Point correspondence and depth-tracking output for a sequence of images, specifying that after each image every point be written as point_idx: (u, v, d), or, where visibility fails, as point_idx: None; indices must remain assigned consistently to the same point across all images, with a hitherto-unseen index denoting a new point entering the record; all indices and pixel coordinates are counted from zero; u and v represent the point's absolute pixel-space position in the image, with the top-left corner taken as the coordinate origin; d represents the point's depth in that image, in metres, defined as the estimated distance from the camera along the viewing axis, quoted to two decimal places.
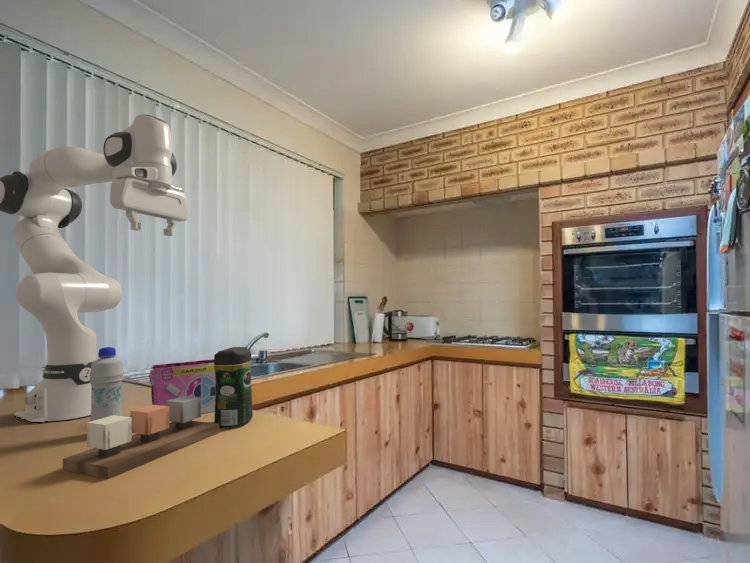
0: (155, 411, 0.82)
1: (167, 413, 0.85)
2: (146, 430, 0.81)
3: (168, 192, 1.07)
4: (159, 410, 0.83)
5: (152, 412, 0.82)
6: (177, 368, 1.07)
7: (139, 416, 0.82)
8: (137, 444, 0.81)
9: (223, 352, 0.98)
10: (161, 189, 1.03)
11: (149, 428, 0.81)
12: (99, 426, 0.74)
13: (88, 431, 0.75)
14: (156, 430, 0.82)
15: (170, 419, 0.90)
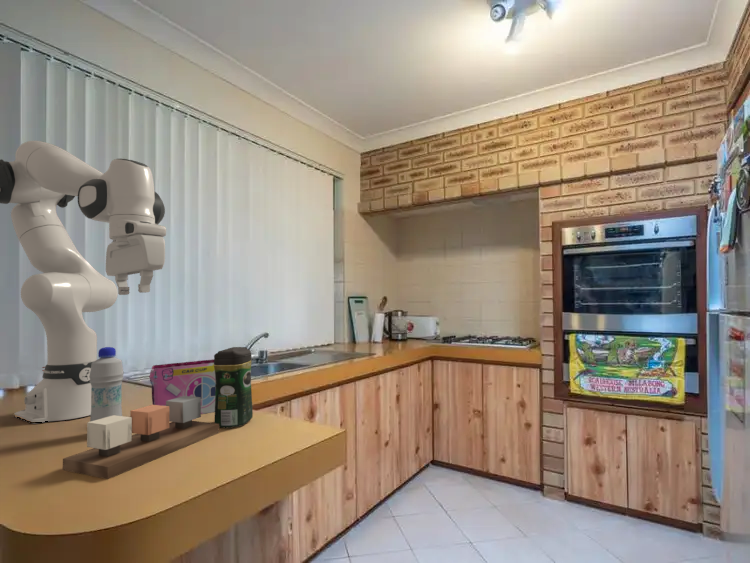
0: (155, 411, 0.82)
1: (167, 413, 0.85)
2: (146, 430, 0.81)
3: None
4: (159, 410, 0.83)
5: (152, 412, 0.82)
6: (177, 368, 1.07)
7: (139, 416, 0.82)
8: (137, 444, 0.81)
9: (223, 352, 0.98)
10: None
11: (149, 428, 0.81)
12: (99, 426, 0.74)
13: (88, 431, 0.75)
14: (156, 430, 0.82)
15: (170, 419, 0.90)
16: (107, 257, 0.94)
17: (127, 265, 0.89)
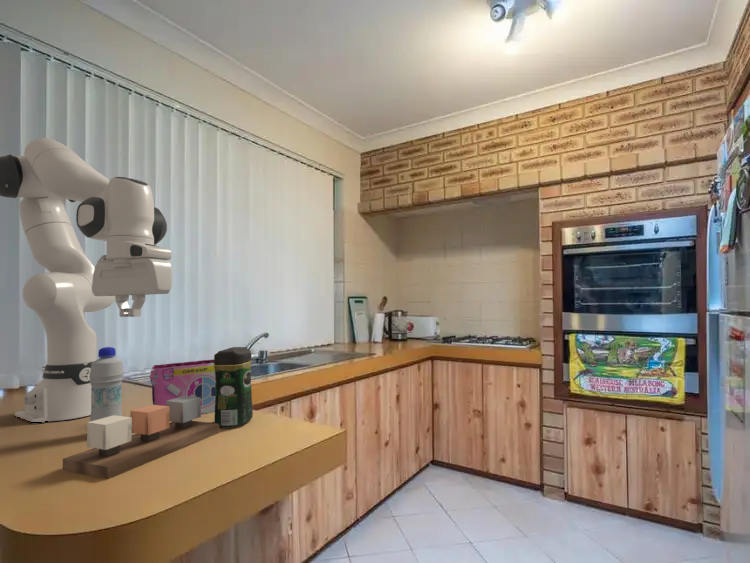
0: (155, 411, 0.82)
1: (167, 413, 0.85)
2: (146, 430, 0.81)
3: None
4: (159, 410, 0.83)
5: (152, 412, 0.82)
6: (178, 368, 1.07)
7: (139, 416, 0.82)
8: (137, 444, 0.81)
9: (223, 352, 0.98)
10: None
11: (149, 428, 0.81)
12: (99, 426, 0.74)
13: (88, 431, 0.75)
14: (156, 430, 0.82)
15: (170, 419, 0.90)
16: (95, 276, 0.89)
17: (126, 288, 0.86)
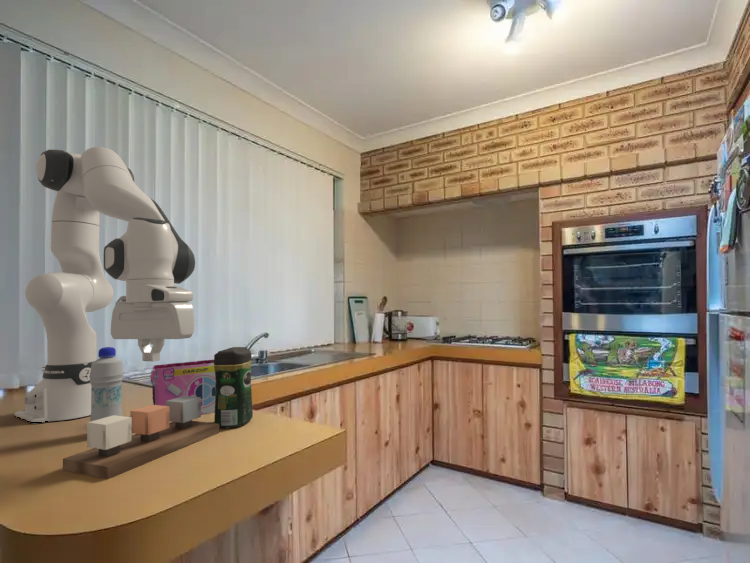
0: (155, 411, 0.82)
1: (167, 413, 0.85)
2: (146, 430, 0.81)
3: None
4: (159, 410, 0.83)
5: (152, 412, 0.82)
6: (178, 368, 1.07)
7: (139, 416, 0.82)
8: (137, 444, 0.81)
9: (223, 352, 0.98)
10: None
11: (149, 428, 0.81)
12: (99, 426, 0.74)
13: (88, 431, 0.75)
14: (156, 430, 0.82)
15: (170, 419, 0.90)
16: (114, 319, 0.87)
17: (147, 332, 0.83)
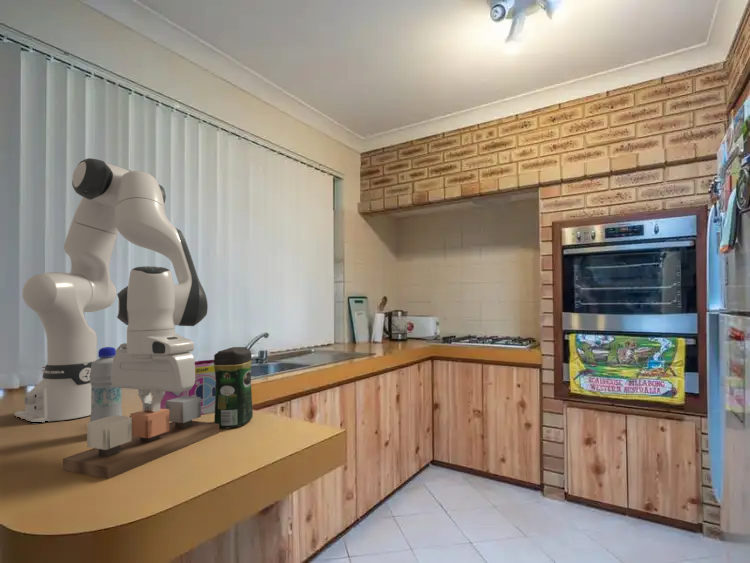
0: (155, 414, 0.82)
1: (167, 416, 0.85)
2: (146, 433, 0.81)
3: None
4: (159, 413, 0.83)
5: (152, 415, 0.82)
6: None
7: (139, 419, 0.82)
8: (137, 444, 0.81)
9: (223, 352, 0.98)
10: None
11: (149, 431, 0.81)
12: (99, 426, 0.74)
13: (88, 431, 0.75)
14: (156, 433, 0.82)
15: (170, 419, 0.90)
16: (114, 368, 0.86)
17: (147, 383, 0.82)
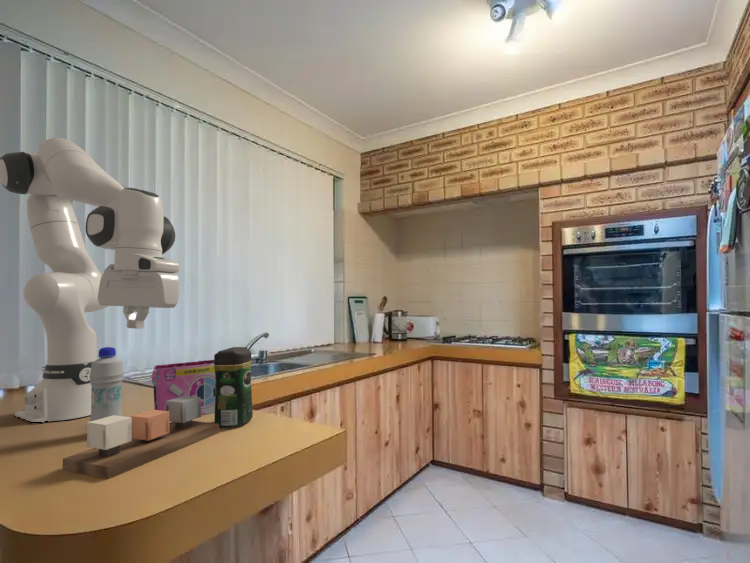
0: (155, 416, 0.82)
1: (167, 418, 0.85)
2: (146, 435, 0.81)
3: None
4: (159, 415, 0.83)
5: (152, 417, 0.82)
6: (180, 368, 1.06)
7: (139, 421, 0.82)
8: (137, 444, 0.81)
9: (223, 352, 0.98)
10: None
11: (149, 433, 0.81)
12: (99, 426, 0.74)
13: (88, 431, 0.75)
14: (156, 435, 0.82)
15: (170, 419, 0.90)
16: (102, 286, 0.89)
17: (132, 300, 0.85)
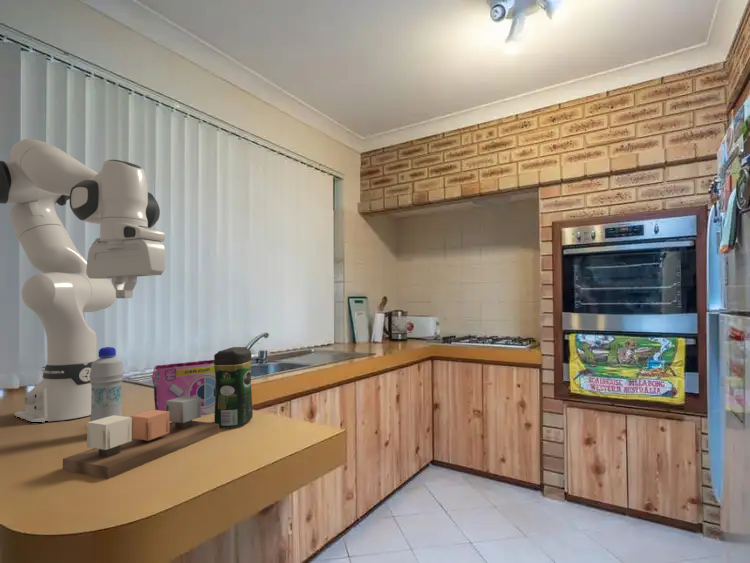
0: (155, 416, 0.82)
1: (167, 418, 0.85)
2: (146, 435, 0.81)
3: None
4: (159, 415, 0.83)
5: (152, 417, 0.82)
6: (180, 368, 1.06)
7: (139, 421, 0.82)
8: (137, 444, 0.81)
9: (223, 352, 0.98)
10: None
11: (149, 433, 0.81)
12: (99, 426, 0.74)
13: (88, 431, 0.75)
14: (156, 435, 0.82)
15: (170, 419, 0.90)
16: (89, 259, 0.90)
17: (120, 269, 0.87)
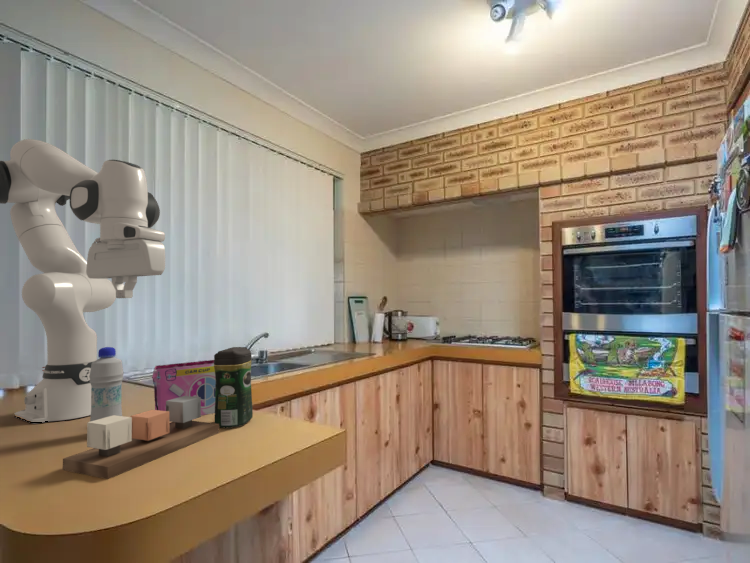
0: (155, 416, 0.82)
1: (167, 418, 0.85)
2: (146, 435, 0.81)
3: None
4: (159, 415, 0.83)
5: (152, 417, 0.82)
6: (181, 368, 1.06)
7: (139, 421, 0.82)
8: (137, 444, 0.81)
9: (223, 352, 0.98)
10: None
11: (149, 433, 0.81)
12: (99, 426, 0.74)
13: (88, 431, 0.75)
14: (156, 435, 0.82)
15: (170, 419, 0.90)
16: (89, 259, 0.90)
17: (120, 269, 0.87)
